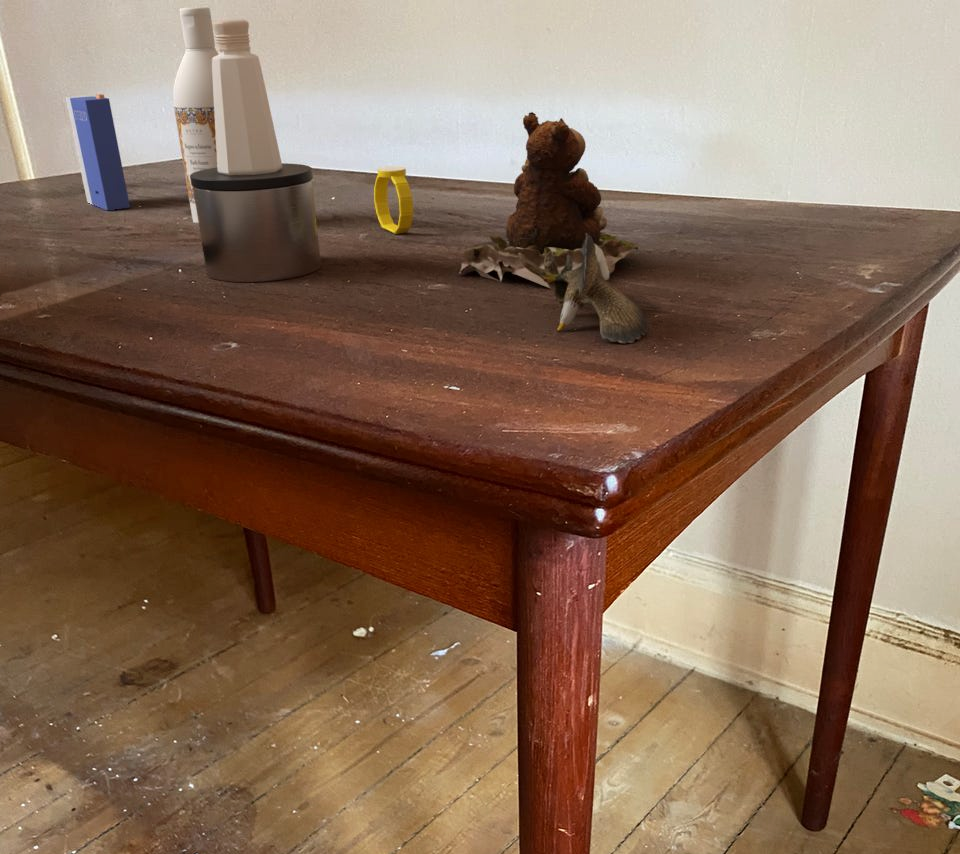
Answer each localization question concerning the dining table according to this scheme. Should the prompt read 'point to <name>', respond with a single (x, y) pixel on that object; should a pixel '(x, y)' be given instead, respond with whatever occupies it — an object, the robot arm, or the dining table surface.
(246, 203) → the canister
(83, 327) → the dining table surface
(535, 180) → the bear figurine
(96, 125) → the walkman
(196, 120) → the bath foam
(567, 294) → the eagle figurine
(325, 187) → the dining table surface
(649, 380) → the dining table surface
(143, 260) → the dining table surface
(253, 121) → the pepper shaker
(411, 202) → the watch
